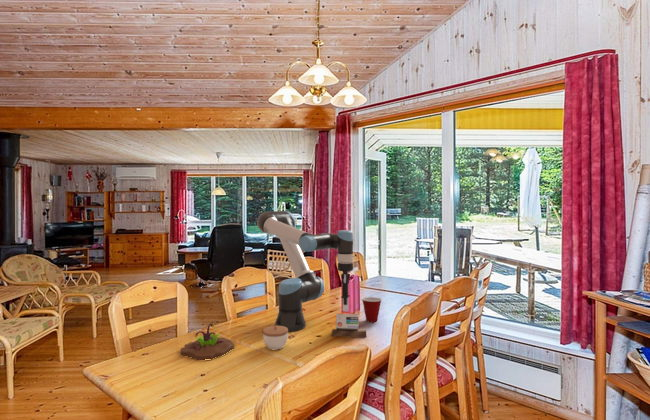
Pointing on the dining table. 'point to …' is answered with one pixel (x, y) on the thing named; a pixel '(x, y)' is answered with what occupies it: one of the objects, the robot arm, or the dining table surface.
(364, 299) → the plastic cup
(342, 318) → the light bulb box
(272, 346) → the lidded jar
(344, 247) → the robot arm
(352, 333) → the walnut stop rail
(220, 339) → the plant
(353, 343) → the dining table surface
